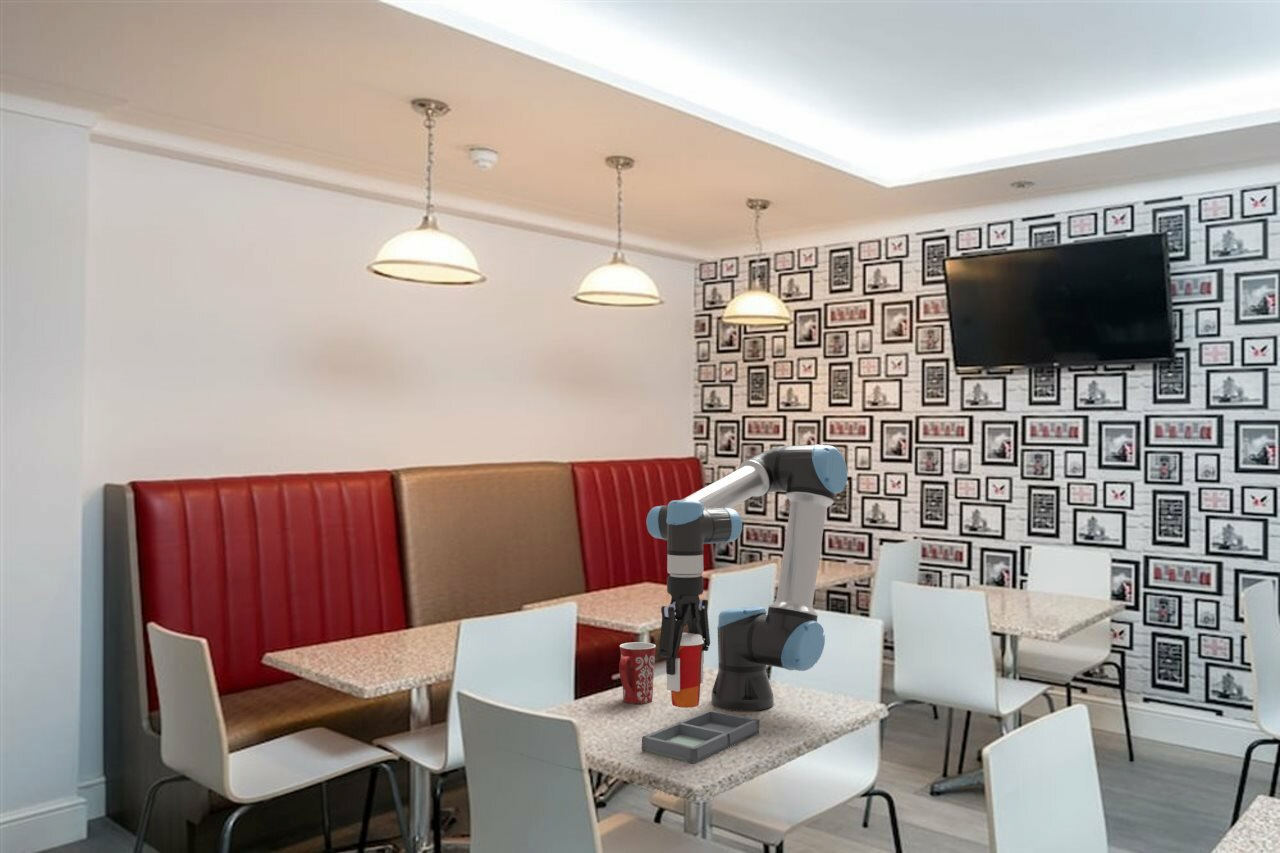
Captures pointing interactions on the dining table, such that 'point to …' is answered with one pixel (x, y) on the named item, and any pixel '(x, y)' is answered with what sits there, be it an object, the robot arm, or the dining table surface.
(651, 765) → the dining table surface
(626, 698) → the mug
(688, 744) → the cup carrier
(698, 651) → the paper cup
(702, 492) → the robot arm
